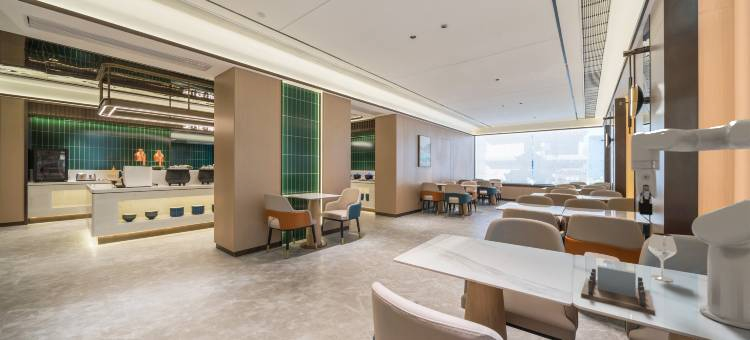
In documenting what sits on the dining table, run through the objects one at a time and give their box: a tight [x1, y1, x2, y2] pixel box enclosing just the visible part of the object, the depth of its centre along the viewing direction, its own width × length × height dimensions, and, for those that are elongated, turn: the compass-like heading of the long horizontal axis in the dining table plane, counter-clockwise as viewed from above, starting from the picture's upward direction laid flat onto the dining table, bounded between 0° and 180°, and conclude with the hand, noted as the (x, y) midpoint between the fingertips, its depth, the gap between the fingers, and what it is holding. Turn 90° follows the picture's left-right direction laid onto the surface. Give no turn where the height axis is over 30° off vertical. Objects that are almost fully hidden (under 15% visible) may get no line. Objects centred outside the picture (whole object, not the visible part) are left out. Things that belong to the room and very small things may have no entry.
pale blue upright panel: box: [597, 265, 637, 297], centre depth 98 cm, size 10×2×8 cm, turn 49°
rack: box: [580, 268, 655, 315], centre depth 98 cm, size 18×19×6 cm
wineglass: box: [647, 232, 678, 282], centre depth 114 cm, size 8×8×18 cm
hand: (645, 213), depth 102 cm, fingers open, 9 cm apart
